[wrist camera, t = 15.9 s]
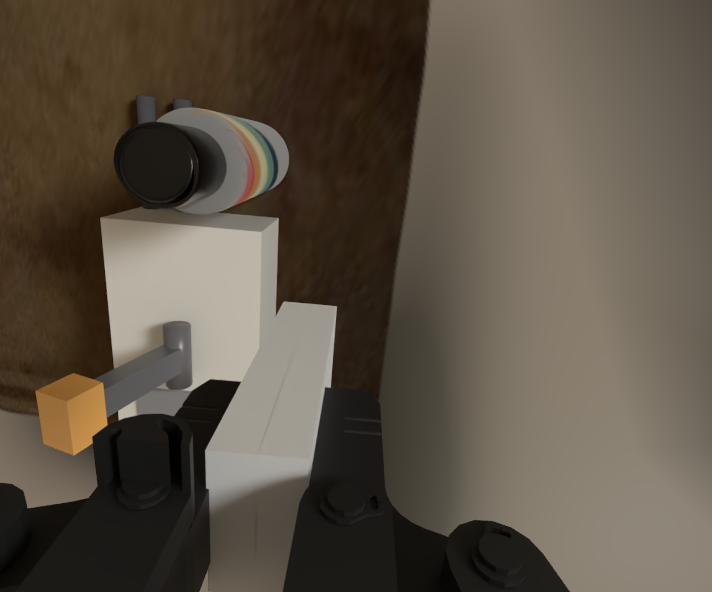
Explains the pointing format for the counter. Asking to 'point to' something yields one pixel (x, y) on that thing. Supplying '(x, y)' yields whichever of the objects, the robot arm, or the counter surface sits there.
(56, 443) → the lever
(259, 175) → the lotion bottle
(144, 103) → the parallel rod pair
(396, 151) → the counter surface
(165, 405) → the block
